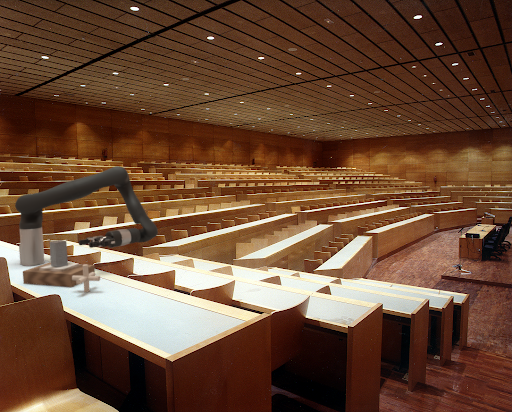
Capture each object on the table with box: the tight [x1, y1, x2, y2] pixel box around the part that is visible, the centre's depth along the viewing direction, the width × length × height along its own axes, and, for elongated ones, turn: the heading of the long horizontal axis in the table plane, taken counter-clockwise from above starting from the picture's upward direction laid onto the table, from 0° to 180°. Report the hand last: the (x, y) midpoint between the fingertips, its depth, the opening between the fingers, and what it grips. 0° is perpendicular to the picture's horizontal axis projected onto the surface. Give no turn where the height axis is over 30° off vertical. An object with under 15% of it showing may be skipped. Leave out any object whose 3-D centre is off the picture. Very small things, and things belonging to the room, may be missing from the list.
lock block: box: [49, 239, 69, 268], centre depth 152 cm, size 4×4×10 cm
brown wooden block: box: [22, 261, 96, 288], centre depth 153 cm, size 22×14×6 cm, turn 77°
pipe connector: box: [72, 264, 101, 293], centre depth 138 cm, size 10×10×10 cm
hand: (84, 244), depth 160 cm, fingers open, 8 cm apart
